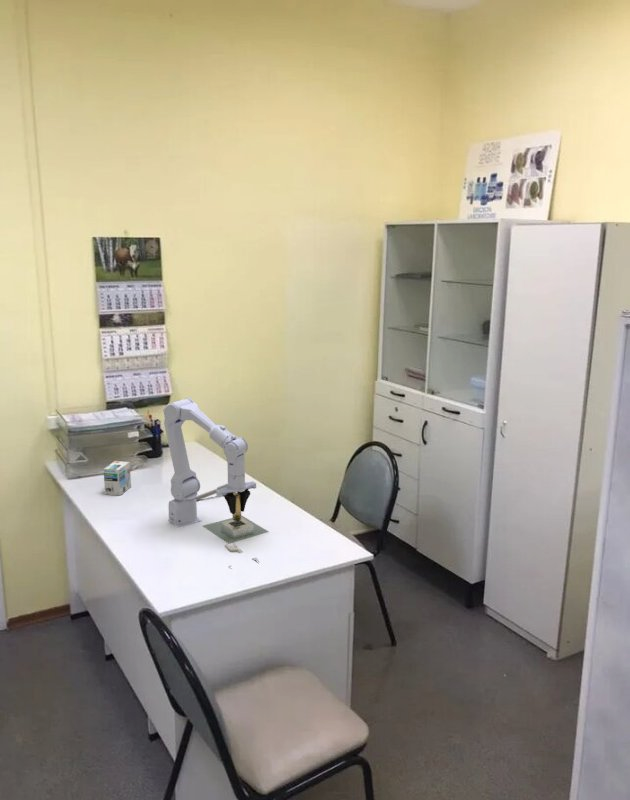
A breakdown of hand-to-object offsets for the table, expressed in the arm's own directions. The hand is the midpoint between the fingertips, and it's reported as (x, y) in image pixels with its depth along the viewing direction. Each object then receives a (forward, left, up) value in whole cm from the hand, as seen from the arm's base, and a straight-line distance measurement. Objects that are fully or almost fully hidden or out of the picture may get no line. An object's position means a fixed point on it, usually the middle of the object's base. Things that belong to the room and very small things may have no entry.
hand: (237, 512), depth 232 cm
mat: (+1, +3, -8) cm, 8 cm away
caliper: (+9, +35, -8) cm, 37 cm away
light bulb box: (-17, +64, -8) cm, 67 cm away
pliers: (-9, -15, -8) cm, 19 cm away
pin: (0, 0, -3) cm, 3 cm away
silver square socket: (0, 0, -7) cm, 7 cm away
